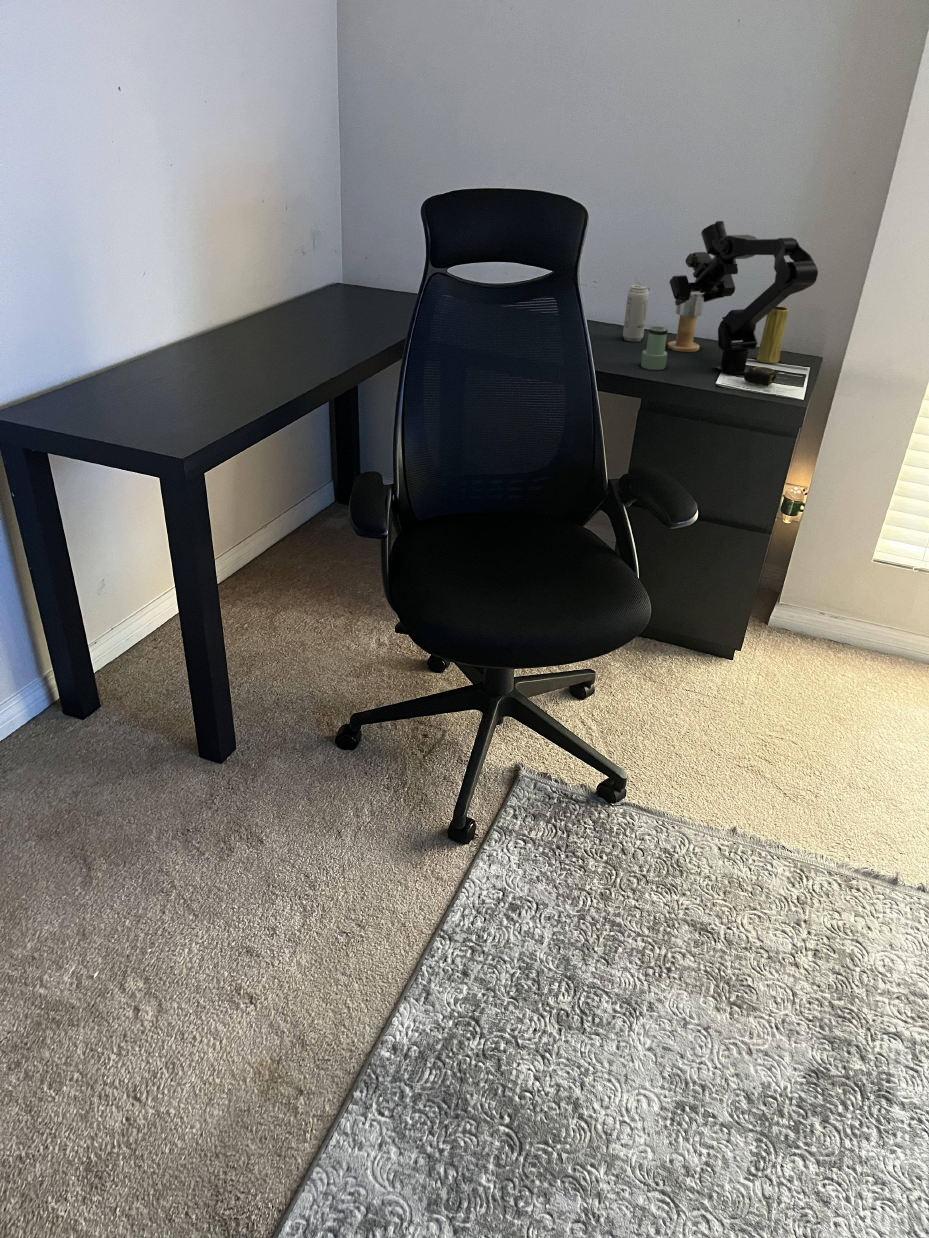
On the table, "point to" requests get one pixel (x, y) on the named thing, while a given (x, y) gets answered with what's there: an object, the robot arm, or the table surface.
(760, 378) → the tape measure
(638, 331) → the energy drink can
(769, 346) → the vase
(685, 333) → the peg
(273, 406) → the table surface
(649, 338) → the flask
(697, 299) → the cap
